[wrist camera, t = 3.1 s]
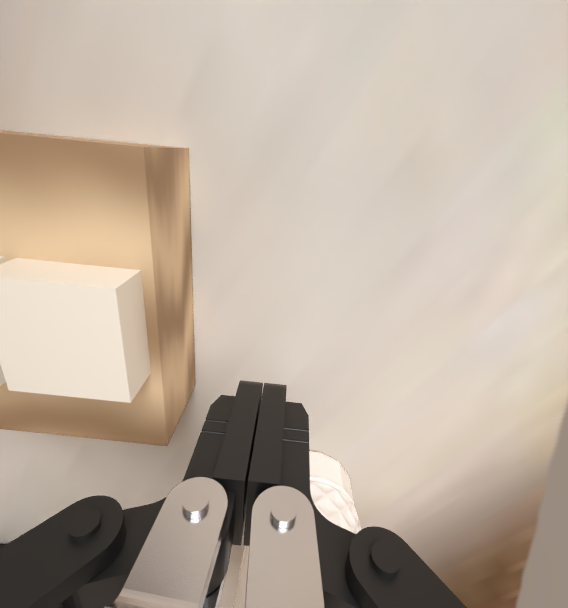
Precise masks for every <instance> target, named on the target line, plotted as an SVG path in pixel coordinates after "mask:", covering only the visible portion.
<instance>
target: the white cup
mask: <svg viewBox="0 0 568 608" xmlns="http://www.w3.org/2000/svg"><path fill="white" fill-rule="evenodd" d="M309 461H310V492H311V497H312V500H313V502H314V504H315V506H316V508H317V509H318V511H319V512H320V513H321V514H322V515H323V516H324V517H325V518H326V519H328V520H329V521H330V522H332V523H334V524H336V525H338V526H340V527H342V528H344V529H346V530H348V531H351V532H353V533H355V534H357V533H358V532H359V531H360V530H361V526H360V522H359V518H358V516H357V513H356V510H355V505H354V500H353V494H352V489H351V484H350V478H349V475H348V474H347V472H346V471H345V470H344V468H343V467H342V465H341V464H340V463H339V462H338V461H337V460H335V459H333V458H331V457H329V456H327V455H325V454H323V453H321V452H313V451H309ZM248 556H249V546H245V545H244V550H243V555H242V561H241V566H240V571H239V577H238V582H237V587H236V593H235V598H234V604H233V608H245V596H246V581H247V569H248Z"/></svg>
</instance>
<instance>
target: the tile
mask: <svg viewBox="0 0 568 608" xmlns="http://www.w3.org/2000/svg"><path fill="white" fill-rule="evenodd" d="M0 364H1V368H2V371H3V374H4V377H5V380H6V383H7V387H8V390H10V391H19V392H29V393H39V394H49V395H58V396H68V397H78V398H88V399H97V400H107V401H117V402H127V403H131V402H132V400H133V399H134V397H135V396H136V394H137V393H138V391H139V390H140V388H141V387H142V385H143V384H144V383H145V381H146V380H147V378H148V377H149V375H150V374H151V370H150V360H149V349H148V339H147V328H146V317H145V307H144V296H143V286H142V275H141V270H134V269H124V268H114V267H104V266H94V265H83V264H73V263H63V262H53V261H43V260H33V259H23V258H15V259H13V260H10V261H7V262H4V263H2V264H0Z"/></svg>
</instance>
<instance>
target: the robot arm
mask: <svg viewBox="0 0 568 608" xmlns="http://www.w3.org/2000/svg"><path fill="white" fill-rule="evenodd" d="M262 386H263V383H259V382H249V381H240V382H239V386H238V389H237V393H236V396H226V395H221V396H220V397H219V398H218V399H217V400H216V401H215V402H214V403H213V404H212V405H211V406H210V409H209V412H208V414H207V417H206V421H205V422H204V425H203V428H202V432H201V433H200V436H199V439H198V441H197V444H196V447H195V450H194V452H193V455H192V458H191V461H190V463H189V466H188V469H187V471H186V474H185V477H184V479H183V481H182V482H181V483H180V484H178V485H177V486H176V487H175V488H173V489H172V491H171V492H170V493H169V494H168V496H167V497H166V498H164V499H162V500H160V501H158V502H156V503H153V504H149V505H144V506H140V507H135V508H130V509H125V510H122V508H121V506H120V504H119V503H118V502H117V501H116V500H115V499H113V498H111V497H108V496H92V497H88V498H84V499H82V500H79V501H77V502H76V503H74V504H72V505H70V506H69V507H67V508H65V509H64V510H62V511H60V512H59V513H57V514H56V515H54V516H52V517H51V518H49V519H47V520H46V521H44V522H43V523H41V524H39V525H38V526H36V527H34V528H33V529H31V530H30V531H28V532H26V533H25V534H23V535H21V536H20V537H18V538H17V539H15V540H13V541H12V542H10V543H8V544H7V545H5V546H4V547H2V548H0V608H218V605H219V601H220V597H221V593H222V589H223V585H224V581H225V575H226V572H227V569H228V564H229V558H230V552H231V547H232V544H234V545H241V541H242V535H243V529H244V522H245V531H244V545H245V546H249V556H248V569H247V581H246V596H245V608H467V607H466V606H465V605H464V604H463V603H462V602H461V601H460V600H459V599H458V598H457V597H456V596H455V595H454V594H453V592H452V591H451V590H450V589H449V588H448V587H447V586H446V585H445V584H444V583H443V582H442V581H441V580H440V579H439V577H438V576H437V575H436V574H435V573H434V572H433V571H432V570H431V569H430V568H429V567H428V566H427V565H426V564H425V563H424V561H423V560H422V559H421V558H420V557H419V556H418V555H417V554H416V553H415V552H414V551H413V550H412V549H411V548H410V547H409V545H408V544H407V543H406V542H405V541H404V540H403V539H402V538H400V537H399V536H398V535H396V534H395V533H393V532H392V531H390V530H387V529H385V528H381V527H367V528H364V529H362V530H360V531H359V532H358V533H357V534H355V533H353V532H351V531H348V530H346V529H344V528H342V527H340V526H338V525H336V524H334V523H332V522H330V521H329V520H328V519H326V518H325V517H324V516H323V515H322V514H321V513H320V512H319V511H318V509H317V508H316V506H315V504H314V502H313V500H312V497H311V492H310V461H309V420H308V414H307V412H306V411H305V409H304V407H303V405H302V403H293V402H285V401H286V385H279V384H269V383H264V388H263V394H262ZM261 399H262V400H261ZM245 516H246V517H245Z"/></svg>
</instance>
